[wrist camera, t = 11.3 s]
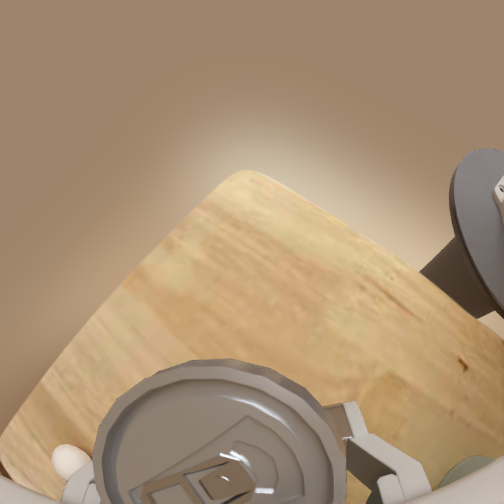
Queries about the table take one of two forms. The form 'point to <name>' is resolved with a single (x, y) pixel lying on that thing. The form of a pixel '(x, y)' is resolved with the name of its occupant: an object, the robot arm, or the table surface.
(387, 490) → the robot arm
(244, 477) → the green soda can
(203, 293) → the table surface
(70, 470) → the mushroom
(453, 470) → the mug
